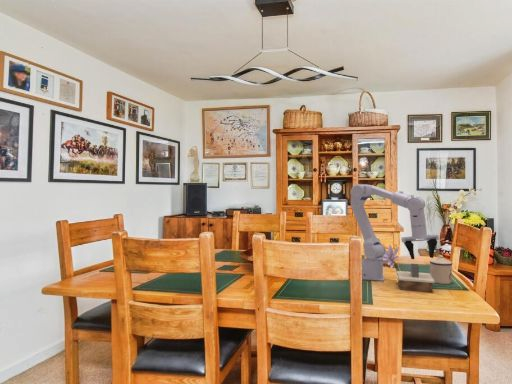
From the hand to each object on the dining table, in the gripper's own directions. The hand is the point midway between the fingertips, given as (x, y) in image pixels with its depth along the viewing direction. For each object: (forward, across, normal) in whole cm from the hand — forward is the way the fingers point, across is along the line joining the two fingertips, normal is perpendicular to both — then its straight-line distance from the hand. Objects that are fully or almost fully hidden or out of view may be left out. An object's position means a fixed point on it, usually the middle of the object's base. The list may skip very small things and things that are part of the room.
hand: (422, 258), depth 150 cm
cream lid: (+8, -4, +1) cm, 9 cm away
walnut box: (+12, -4, +1) cm, 13 cm away
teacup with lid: (+13, +11, +13) cm, 21 cm away
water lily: (+9, -4, +42) cm, 43 cm away
